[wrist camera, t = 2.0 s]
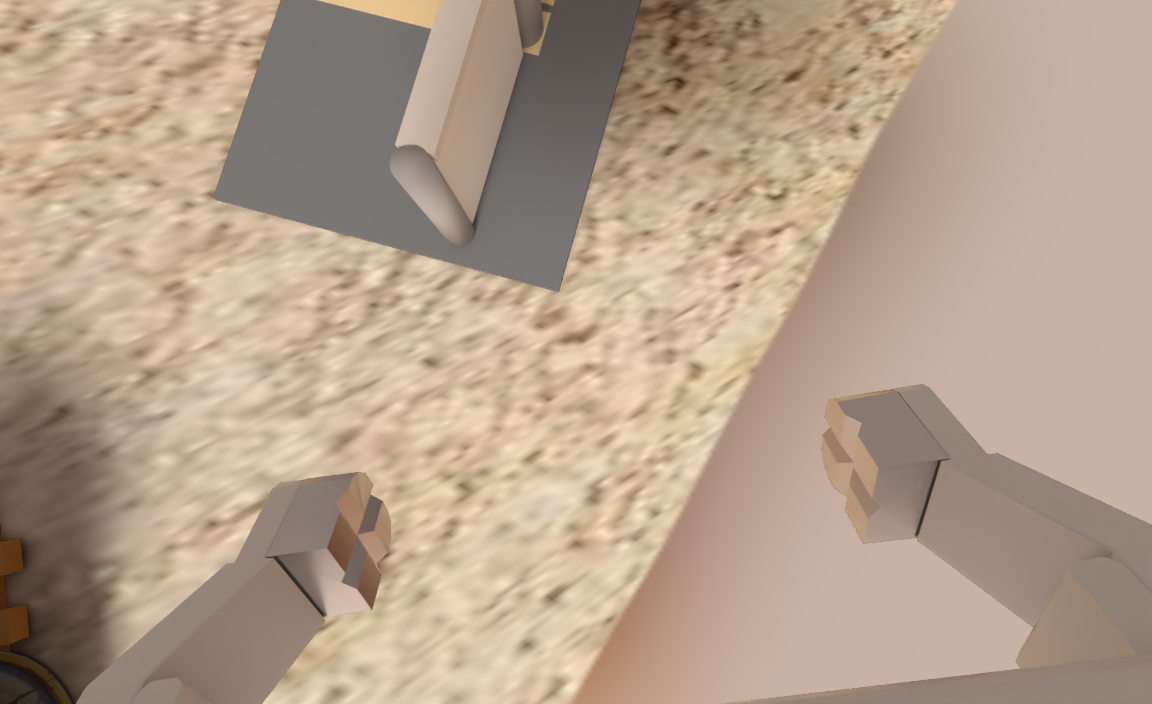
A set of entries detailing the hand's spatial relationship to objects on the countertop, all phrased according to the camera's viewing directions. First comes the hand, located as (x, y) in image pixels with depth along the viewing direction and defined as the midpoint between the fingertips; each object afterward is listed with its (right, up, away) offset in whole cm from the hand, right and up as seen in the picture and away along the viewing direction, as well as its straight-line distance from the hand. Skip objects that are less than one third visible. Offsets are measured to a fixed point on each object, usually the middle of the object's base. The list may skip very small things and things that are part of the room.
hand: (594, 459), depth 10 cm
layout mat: (-8, +20, +23) cm, 31 cm away
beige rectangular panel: (-5, +13, +21) cm, 25 cm away
